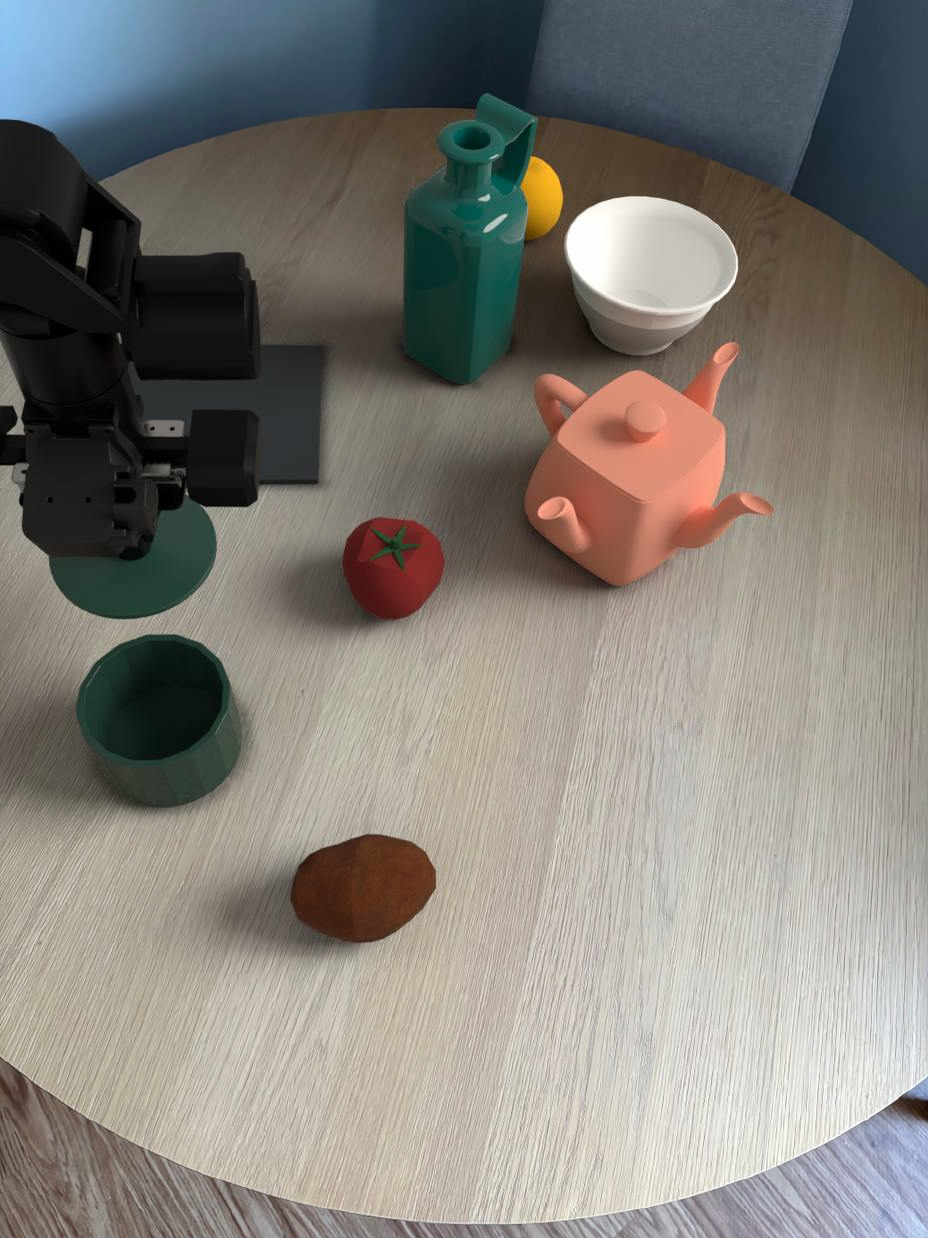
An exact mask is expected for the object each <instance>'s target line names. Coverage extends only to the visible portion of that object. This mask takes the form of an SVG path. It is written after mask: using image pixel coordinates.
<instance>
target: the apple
mask: <svg viewBox="0 0 928 1238" xmlns="http://www.w3.org/2000/svg"><path fill="white" fill-rule="evenodd" d="M520 188H521V189H522V191H523V192H524V193H525V196H526V200H527V204H528V217H527V225H526V232H525V240H524V241H532V240H535V239H539V238H541V237H543V236H544V235H546V234H547V233H549V232H550V231H551V230H552V229H553V227H555V225H556V224H557V222H558V220H559V218H560V215H561V211H562V207H563V203H564V202H563V200H564V196H563V190H562V185H561V182H560V178H559V176H558V174H557V173H556V172H555V171H554V169H553V168H552V166H551V165H549V164H548V163H547V162H545V161H544V160H543V159H541V158H539V157H536V156H532V155H531V158H530V162H529V166H528V169H527V172H526V174H525V177H524V179H523V182H522V184H521V186H520Z"/></svg>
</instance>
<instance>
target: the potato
mask: <svg viewBox="0 0 928 1238" xmlns="http://www.w3.org/2000/svg"><path fill="white" fill-rule="evenodd" d="M436 890H437V869H436V868H435V866H434V864H433V863H432V861H431V860H430V858H429V855H428V854H427V851H425V850H424V849H423V848H421V847H420V846H419V845H418V844H416V843H414V842H413V841H412V840H411V841H410V840H407V839H403V838H399V837H394V836H389V835H385V834H381V833H379V834H378V833H366V834H362V835H359V836H355V837H351V838H349V839H346V840H345V841H342V842H339V843H336V844H333V845H332V844H331V845H329V846H325V847H324V846H323V847H322V848H320V849H317V850H315V851H313V852H311V853H309V854H308V855H307V856H306V857H305V858H304V859H303V860H302V861H301V862H300V863H299V864H298V866H297V870H296V872H295V874H294V877H293V879H292V884H291V888H290V893H289V902H290V904H291V907H292V910H293V912H294V914H295V917H296V918H297V920H298V921H299V922H301V924H304V925H305V926H307V927H309V928H310V929H312V930H313V931H316V932H318V933H320V934H323V935H325V936H327V937H329V938H332V939H334V940H339V941H342V942H345V943H353V944H354V943H355V944H365V943H373V942H378V941H380V940H385V939H387V938H388V937H389V936H392V935H393V934H395V933H397V932H398V931H399V930H401V929H402V928H403V927H404V926H405V925H406V924H409V923H410V922H411V921H413V919H414V918H415V917H416V916H417V915H418V914H419V913H420V912H421V911H422V910H423V909H425V906H426V905H427V904H428V902H429V899H430V898H431V897H432V895H433V894H434V892H435V891H436Z"/></svg>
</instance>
